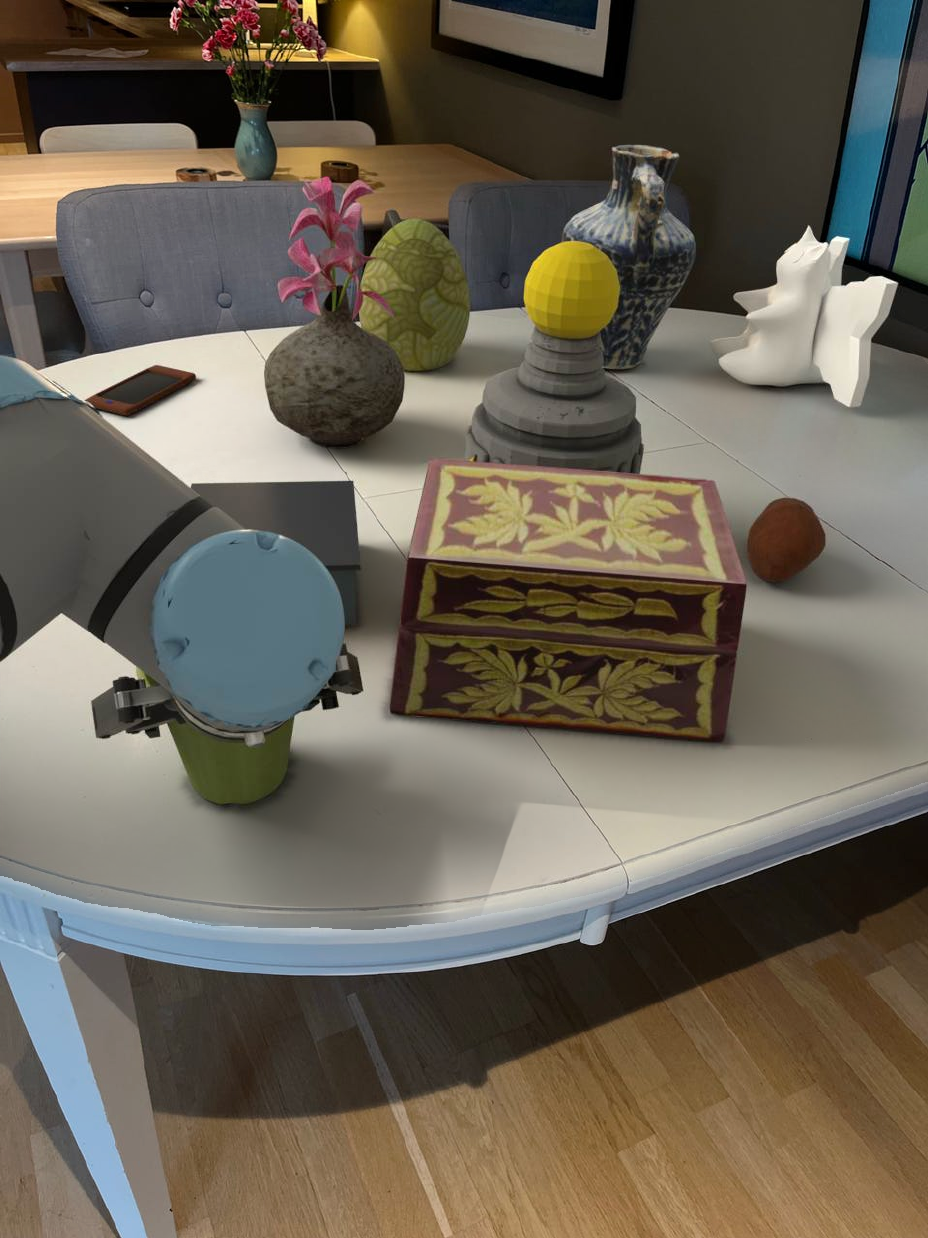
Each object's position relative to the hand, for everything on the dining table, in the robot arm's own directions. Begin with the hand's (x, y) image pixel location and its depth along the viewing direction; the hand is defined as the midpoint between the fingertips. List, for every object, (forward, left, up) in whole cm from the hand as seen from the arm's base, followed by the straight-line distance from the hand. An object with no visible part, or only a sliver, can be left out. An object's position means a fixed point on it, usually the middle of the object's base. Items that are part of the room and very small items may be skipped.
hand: (229, 706), depth 72 cm
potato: (+55, +23, -4) cm, 59 cm away
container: (+3, +23, -4) cm, 24 cm away
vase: (+10, +57, -4) cm, 58 cm away
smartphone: (-16, +71, -4) cm, 73 cm away
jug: (+53, +83, -4) cm, 98 cm away
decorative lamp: (+32, +33, -4) cm, 46 cm away
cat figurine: (+77, +75, -4) cm, 107 cm away
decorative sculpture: (+22, +84, -4) cm, 87 cm away
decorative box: (+28, +9, -4) cm, 29 cm away
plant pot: (+1, -3, -4) cm, 5 cm away
